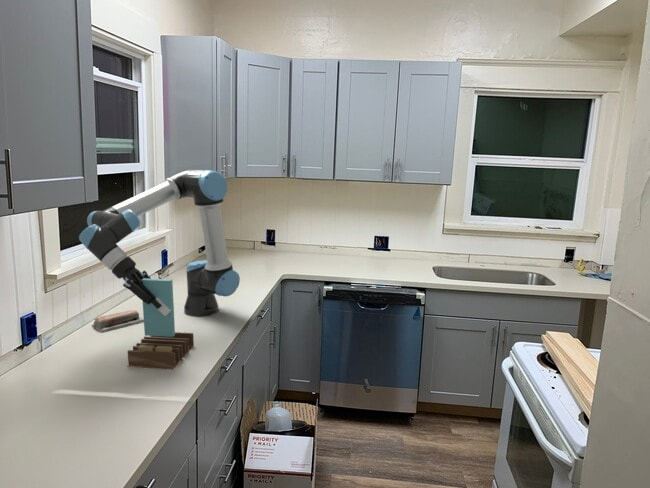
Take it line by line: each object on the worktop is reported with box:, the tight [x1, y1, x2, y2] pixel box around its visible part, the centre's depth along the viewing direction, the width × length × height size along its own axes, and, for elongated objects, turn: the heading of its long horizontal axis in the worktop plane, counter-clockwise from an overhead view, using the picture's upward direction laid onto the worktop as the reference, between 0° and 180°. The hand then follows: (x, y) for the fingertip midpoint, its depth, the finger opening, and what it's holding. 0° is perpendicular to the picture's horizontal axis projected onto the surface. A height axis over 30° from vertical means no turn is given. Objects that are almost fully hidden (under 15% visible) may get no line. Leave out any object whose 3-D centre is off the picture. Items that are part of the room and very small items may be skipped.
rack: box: [126, 331, 195, 370], centre depth 166 cm, size 19×16×6 cm
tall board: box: [142, 278, 176, 337], centre depth 163 cm, size 2×10×20 cm, turn 86°
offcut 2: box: [155, 346, 172, 352], centre depth 160 cm, size 2×5×6 cm, turn 86°
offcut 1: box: [138, 345, 155, 351], centre depth 160 cm, size 2×5×6 cm, turn 85°
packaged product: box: [91, 310, 144, 333], centre depth 198 cm, size 18×5×10 cm
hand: (169, 312), depth 163 cm, fingers closed on tall board, 2 cm apart
